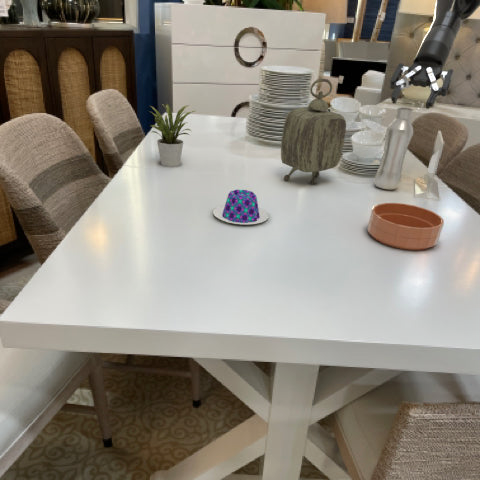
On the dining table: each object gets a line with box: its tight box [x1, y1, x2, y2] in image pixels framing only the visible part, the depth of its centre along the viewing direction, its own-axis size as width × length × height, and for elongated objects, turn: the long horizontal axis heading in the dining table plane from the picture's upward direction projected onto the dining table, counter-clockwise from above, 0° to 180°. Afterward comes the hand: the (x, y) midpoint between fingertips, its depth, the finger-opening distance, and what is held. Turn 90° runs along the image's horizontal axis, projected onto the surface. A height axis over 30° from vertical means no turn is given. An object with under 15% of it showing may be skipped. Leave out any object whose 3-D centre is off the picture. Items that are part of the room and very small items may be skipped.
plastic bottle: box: [374, 106, 414, 191], centre depth 122 cm, size 6×7×20 cm
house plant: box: [148, 102, 195, 168], centre depth 128 cm, size 14×14×16 cm
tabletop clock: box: [280, 78, 347, 185], centre depth 120 cm, size 14×9×25 cm, turn 124°
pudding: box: [212, 189, 269, 226], centre depth 101 cm, size 12×12×5 cm
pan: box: [367, 202, 445, 251], centre depth 98 cm, size 14×14×5 cm
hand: (410, 103), depth 119 cm, fingers open, 8 cm apart
